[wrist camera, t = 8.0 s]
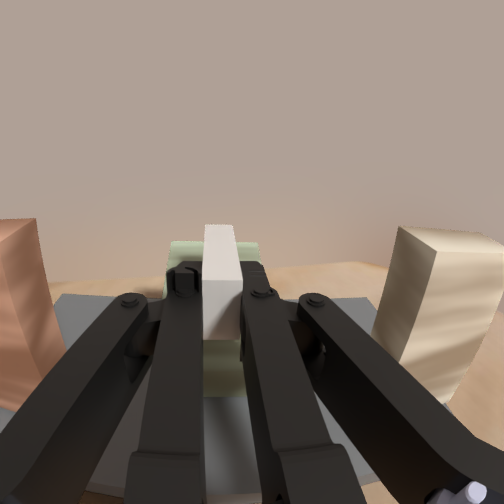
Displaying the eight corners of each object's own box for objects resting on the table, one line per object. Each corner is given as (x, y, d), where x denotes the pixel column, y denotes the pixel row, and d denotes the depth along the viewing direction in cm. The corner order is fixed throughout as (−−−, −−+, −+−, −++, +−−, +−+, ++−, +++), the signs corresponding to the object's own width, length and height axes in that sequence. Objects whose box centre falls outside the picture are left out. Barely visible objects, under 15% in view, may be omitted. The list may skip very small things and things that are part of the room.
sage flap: (278, 370, 14) (257, 242, 22) (152, 369, 13) (171, 241, 21) (269, 395, 16) (253, 274, 24) (161, 395, 15) (174, 273, 23)
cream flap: (448, 401, 15) (516, 253, 11) (369, 423, 14) (437, 251, 10) (427, 372, 17) (479, 232, 14) (351, 387, 17) (398, 225, 13)
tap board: (456, 451, 13) (468, 437, 12) (-16, 455, 9) (-29, 440, 9) (362, 310, 28) (366, 297, 28) (66, 307, 25) (62, 293, 24)
